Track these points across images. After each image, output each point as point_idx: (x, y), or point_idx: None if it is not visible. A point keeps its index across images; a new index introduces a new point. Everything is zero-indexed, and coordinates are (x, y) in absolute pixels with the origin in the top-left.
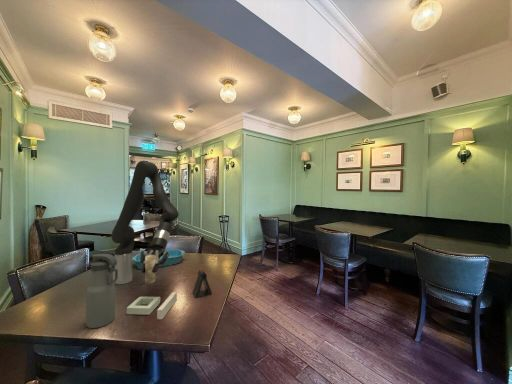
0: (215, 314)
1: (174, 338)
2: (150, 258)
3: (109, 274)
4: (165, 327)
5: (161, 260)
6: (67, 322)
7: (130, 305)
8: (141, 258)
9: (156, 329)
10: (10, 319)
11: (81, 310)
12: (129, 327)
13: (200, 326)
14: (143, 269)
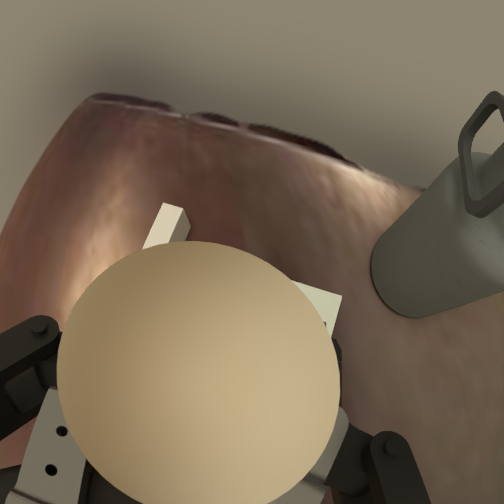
0: (18, 207)
1: (141, 121)
2: (174, 249)
3: (493, 99)
4: (161, 170)
5: (28, 336)
6: (497, 295)
7: (330, 317)
8: (411, 493)
9: (190, 166)
10: None
11: (495, 370)
12: (289, 201)
13: (69, 157)
14: None
